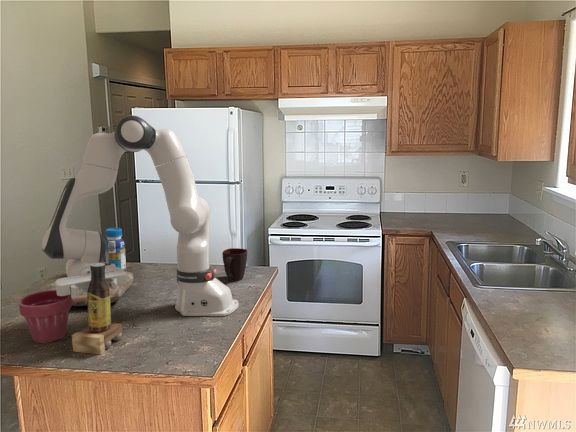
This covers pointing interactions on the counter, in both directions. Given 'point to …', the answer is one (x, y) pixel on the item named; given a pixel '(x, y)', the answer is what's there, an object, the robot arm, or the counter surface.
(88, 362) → the counter surface
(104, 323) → the sauce bottle
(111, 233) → the beverage bottle
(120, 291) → the stone slab
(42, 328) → the plant pot
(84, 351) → the roller board
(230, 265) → the cup
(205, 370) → the counter surface
